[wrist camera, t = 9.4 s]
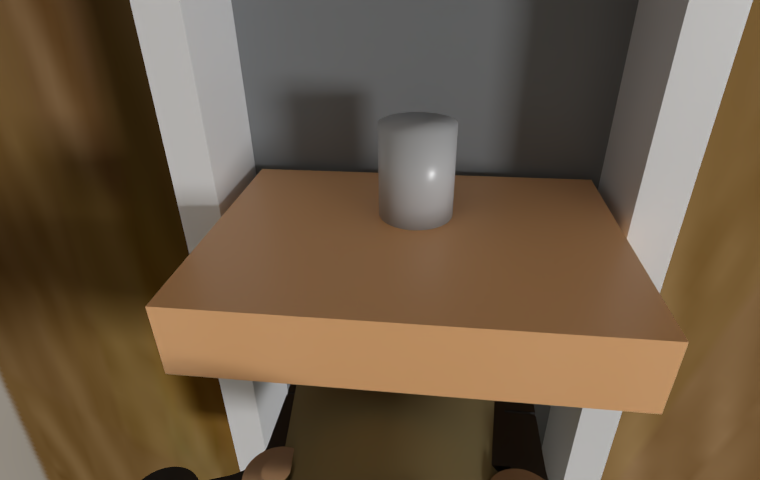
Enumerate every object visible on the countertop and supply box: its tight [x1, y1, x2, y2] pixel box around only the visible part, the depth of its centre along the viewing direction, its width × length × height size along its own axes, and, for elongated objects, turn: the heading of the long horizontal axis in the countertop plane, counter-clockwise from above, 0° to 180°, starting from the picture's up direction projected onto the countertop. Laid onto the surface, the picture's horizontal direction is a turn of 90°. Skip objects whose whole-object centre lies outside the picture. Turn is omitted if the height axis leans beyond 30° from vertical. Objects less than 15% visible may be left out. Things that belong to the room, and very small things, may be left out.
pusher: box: [145, 112, 689, 414], centre depth 10 cm, size 4×8×6 cm, turn 91°
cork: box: [285, 385, 498, 480], centre depth 11 cm, size 6×6×11 cm
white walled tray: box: [130, 0, 753, 480], centre depth 13 cm, size 18×12×5 cm, turn 1°
